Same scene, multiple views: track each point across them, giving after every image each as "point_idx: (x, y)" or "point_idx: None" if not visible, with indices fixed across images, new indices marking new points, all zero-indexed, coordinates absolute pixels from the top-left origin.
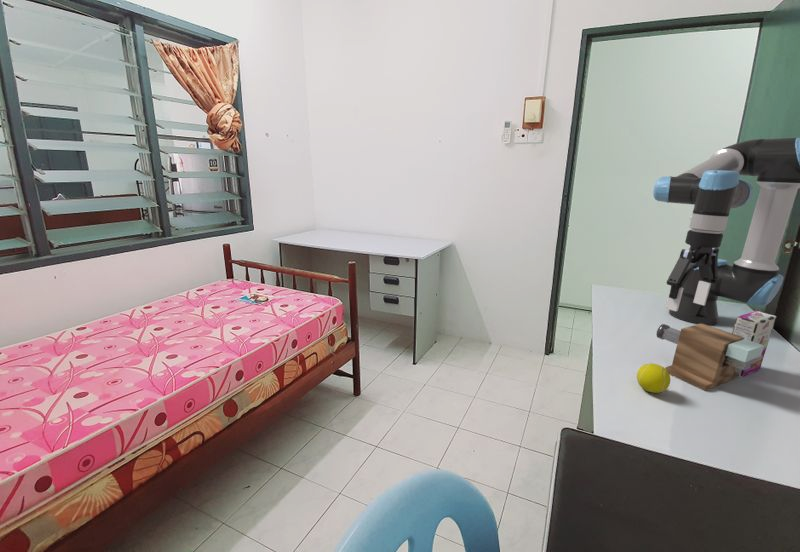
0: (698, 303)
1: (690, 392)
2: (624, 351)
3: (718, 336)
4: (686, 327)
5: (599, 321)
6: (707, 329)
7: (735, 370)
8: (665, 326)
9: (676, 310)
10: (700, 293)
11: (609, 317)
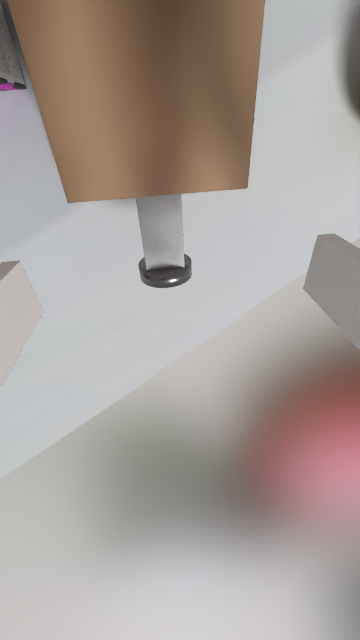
0: (32, 289)
1: (304, 18)
2: (218, 279)
3: (165, 3)
4: (204, 191)
5: (129, 389)
6: (120, 126)
7: (4, 28)
8: (175, 272)
9: (334, 236)
10: (3, 335)
11: (88, 398)
